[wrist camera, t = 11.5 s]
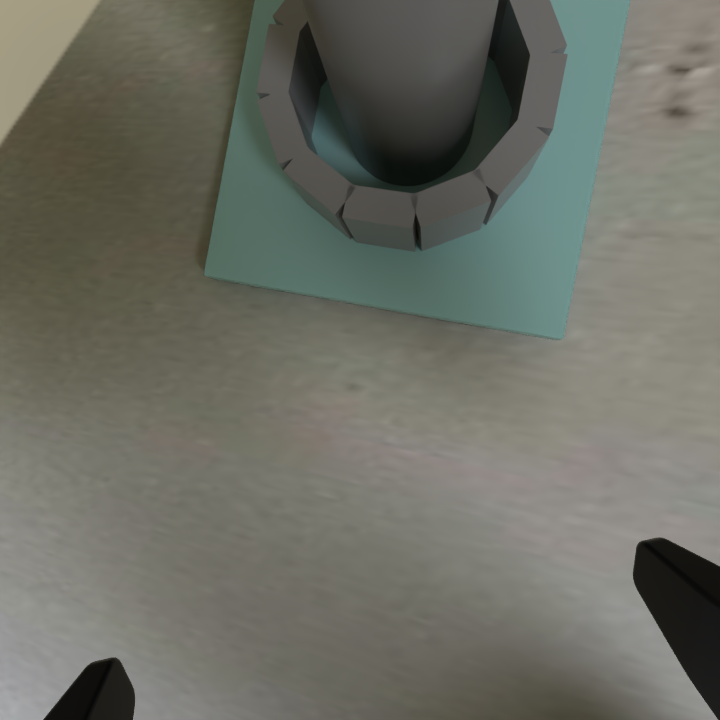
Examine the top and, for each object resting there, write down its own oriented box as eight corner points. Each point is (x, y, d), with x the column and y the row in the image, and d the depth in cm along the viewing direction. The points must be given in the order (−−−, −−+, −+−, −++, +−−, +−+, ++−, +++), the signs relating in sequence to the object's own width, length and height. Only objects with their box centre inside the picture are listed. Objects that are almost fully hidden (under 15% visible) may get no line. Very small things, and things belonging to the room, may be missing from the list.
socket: (629, -27, 17) (686, -137, 13) (556, 340, 17) (592, 333, 14) (274, -55, 19) (236, -160, 15) (212, 279, 19) (160, 258, 15)
